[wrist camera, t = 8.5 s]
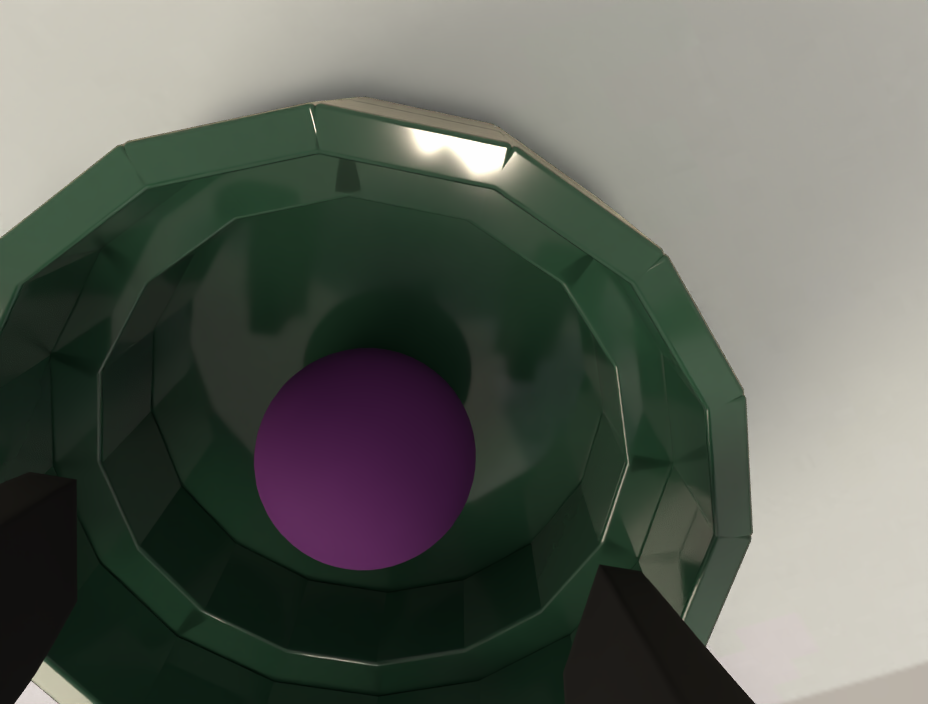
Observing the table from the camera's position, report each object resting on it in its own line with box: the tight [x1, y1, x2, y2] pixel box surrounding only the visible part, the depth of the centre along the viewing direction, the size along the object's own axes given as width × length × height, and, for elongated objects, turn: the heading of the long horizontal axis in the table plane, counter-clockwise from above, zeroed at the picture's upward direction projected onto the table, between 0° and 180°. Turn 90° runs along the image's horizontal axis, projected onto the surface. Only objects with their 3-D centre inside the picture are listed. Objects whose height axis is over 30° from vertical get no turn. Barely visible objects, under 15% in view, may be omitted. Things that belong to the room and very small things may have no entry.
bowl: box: [0, 97, 753, 704], centre depth 13 cm, size 12×12×5 cm
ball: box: [254, 348, 476, 570], centre depth 13 cm, size 4×4×4 cm
